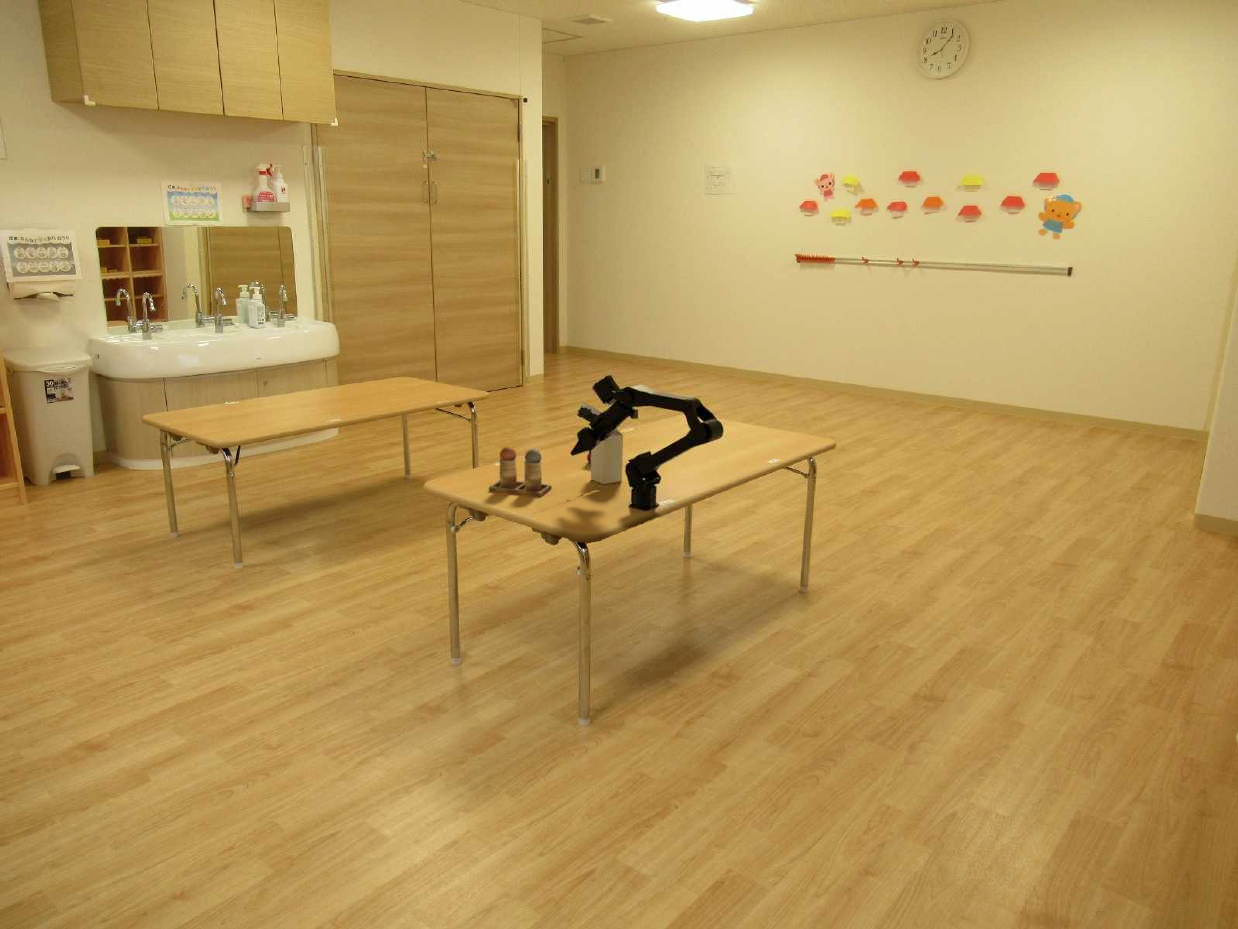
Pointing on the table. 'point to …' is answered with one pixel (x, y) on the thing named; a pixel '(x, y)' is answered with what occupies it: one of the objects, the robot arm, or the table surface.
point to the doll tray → (520, 489)
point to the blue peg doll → (533, 471)
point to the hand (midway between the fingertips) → (576, 450)
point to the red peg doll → (508, 468)
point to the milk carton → (608, 459)
